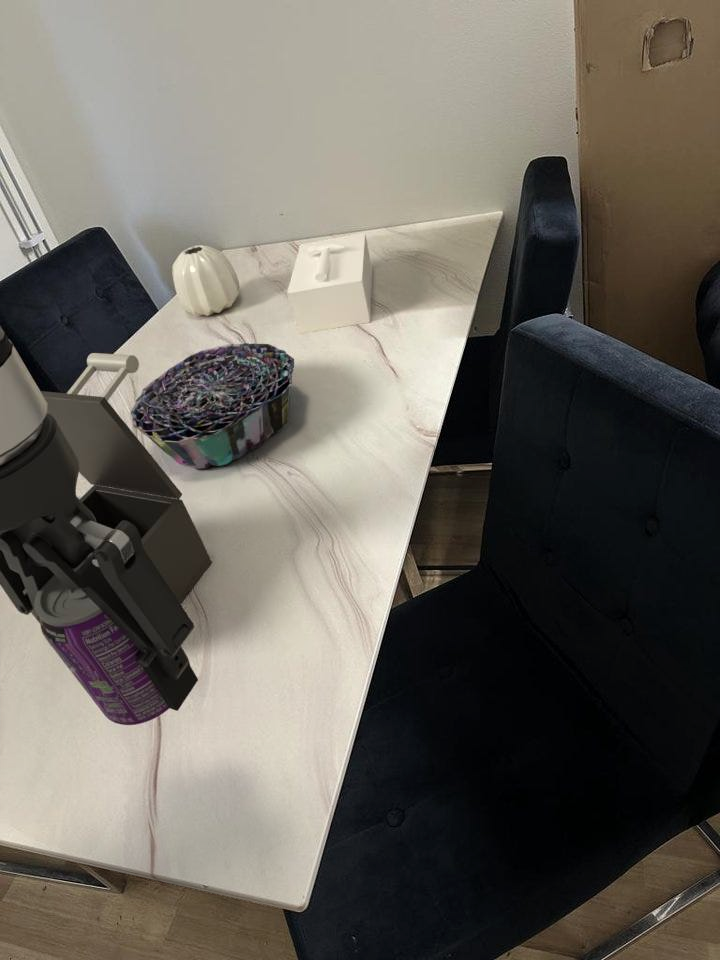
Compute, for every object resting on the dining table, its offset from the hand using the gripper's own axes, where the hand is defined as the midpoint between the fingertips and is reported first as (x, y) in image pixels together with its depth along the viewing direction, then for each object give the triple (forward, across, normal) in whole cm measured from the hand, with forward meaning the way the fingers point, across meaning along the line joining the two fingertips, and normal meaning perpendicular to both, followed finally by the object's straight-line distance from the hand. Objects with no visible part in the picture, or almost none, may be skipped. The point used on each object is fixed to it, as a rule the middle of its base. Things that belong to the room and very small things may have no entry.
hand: (143, 680), depth 51 cm
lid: (-1, -25, +23) cm, 34 cm away
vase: (+18, -62, +94) cm, 114 cm away
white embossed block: (+18, -33, +98) cm, 104 cm away
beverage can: (+1, 0, 0) cm, 1 cm away
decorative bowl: (+18, -32, +52) cm, 64 cm away
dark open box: (+18, -24, +17) cm, 35 cm away
